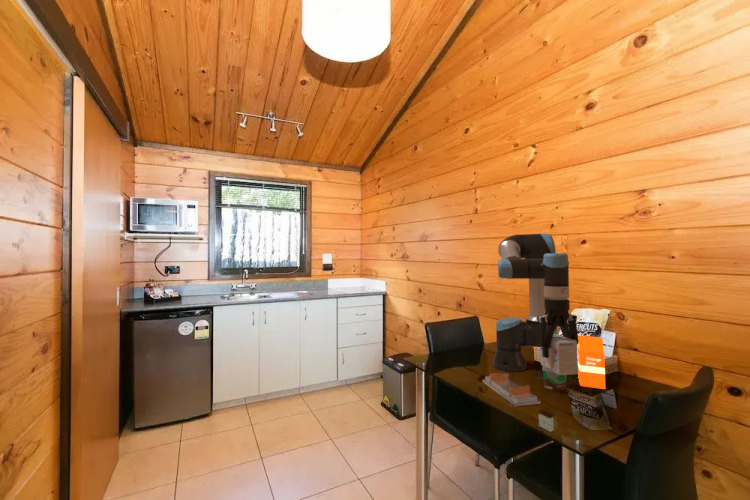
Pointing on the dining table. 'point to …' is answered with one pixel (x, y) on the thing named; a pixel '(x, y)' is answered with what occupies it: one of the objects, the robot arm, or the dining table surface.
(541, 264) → the robot arm
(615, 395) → the dining table surface
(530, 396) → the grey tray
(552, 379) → the food container
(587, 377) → the orange juice
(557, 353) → the light bulb box
